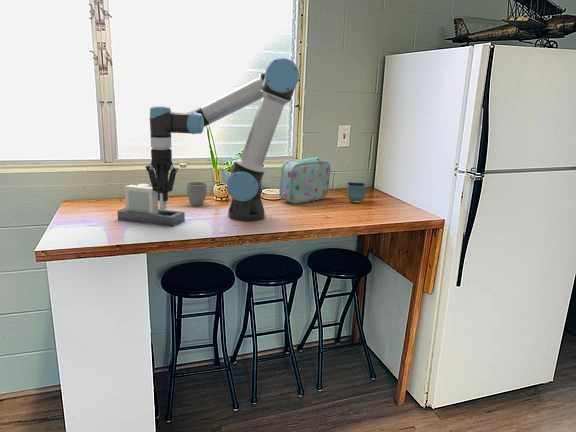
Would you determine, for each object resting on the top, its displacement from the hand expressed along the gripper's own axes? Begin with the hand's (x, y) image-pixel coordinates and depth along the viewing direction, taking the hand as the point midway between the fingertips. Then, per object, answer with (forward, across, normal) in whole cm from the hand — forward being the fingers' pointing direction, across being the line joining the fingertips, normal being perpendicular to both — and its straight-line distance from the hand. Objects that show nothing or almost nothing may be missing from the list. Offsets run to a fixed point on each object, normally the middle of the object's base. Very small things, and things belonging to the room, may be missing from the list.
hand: (163, 209), depth 183 cm
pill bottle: (+5, +16, -12) cm, 21 cm away
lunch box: (+6, -42, -60) cm, 73 cm away
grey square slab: (+4, +10, 0) cm, 10 cm away
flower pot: (+6, -66, -69) cm, 95 cm away
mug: (+5, +2, -32) cm, 33 cm away
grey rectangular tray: (+5, +6, 0) cm, 8 cm away
